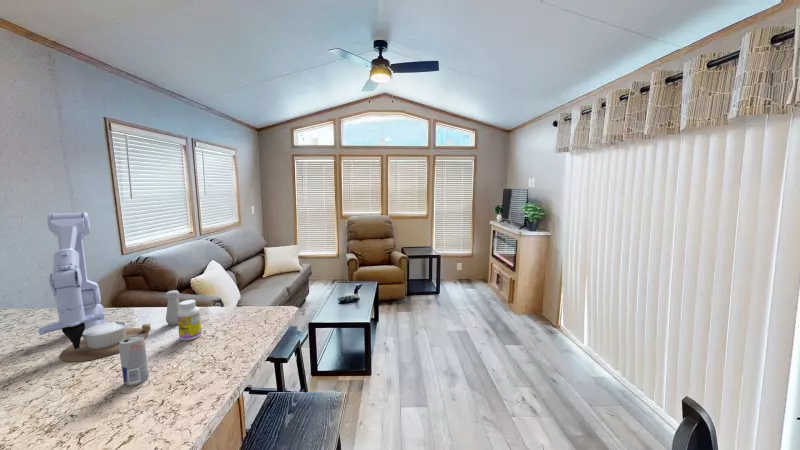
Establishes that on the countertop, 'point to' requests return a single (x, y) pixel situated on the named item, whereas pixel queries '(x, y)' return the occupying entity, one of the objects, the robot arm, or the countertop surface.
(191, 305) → the supplement bottle
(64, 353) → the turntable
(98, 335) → the ramekin
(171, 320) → the salt shaker
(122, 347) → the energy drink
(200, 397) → the countertop surface
